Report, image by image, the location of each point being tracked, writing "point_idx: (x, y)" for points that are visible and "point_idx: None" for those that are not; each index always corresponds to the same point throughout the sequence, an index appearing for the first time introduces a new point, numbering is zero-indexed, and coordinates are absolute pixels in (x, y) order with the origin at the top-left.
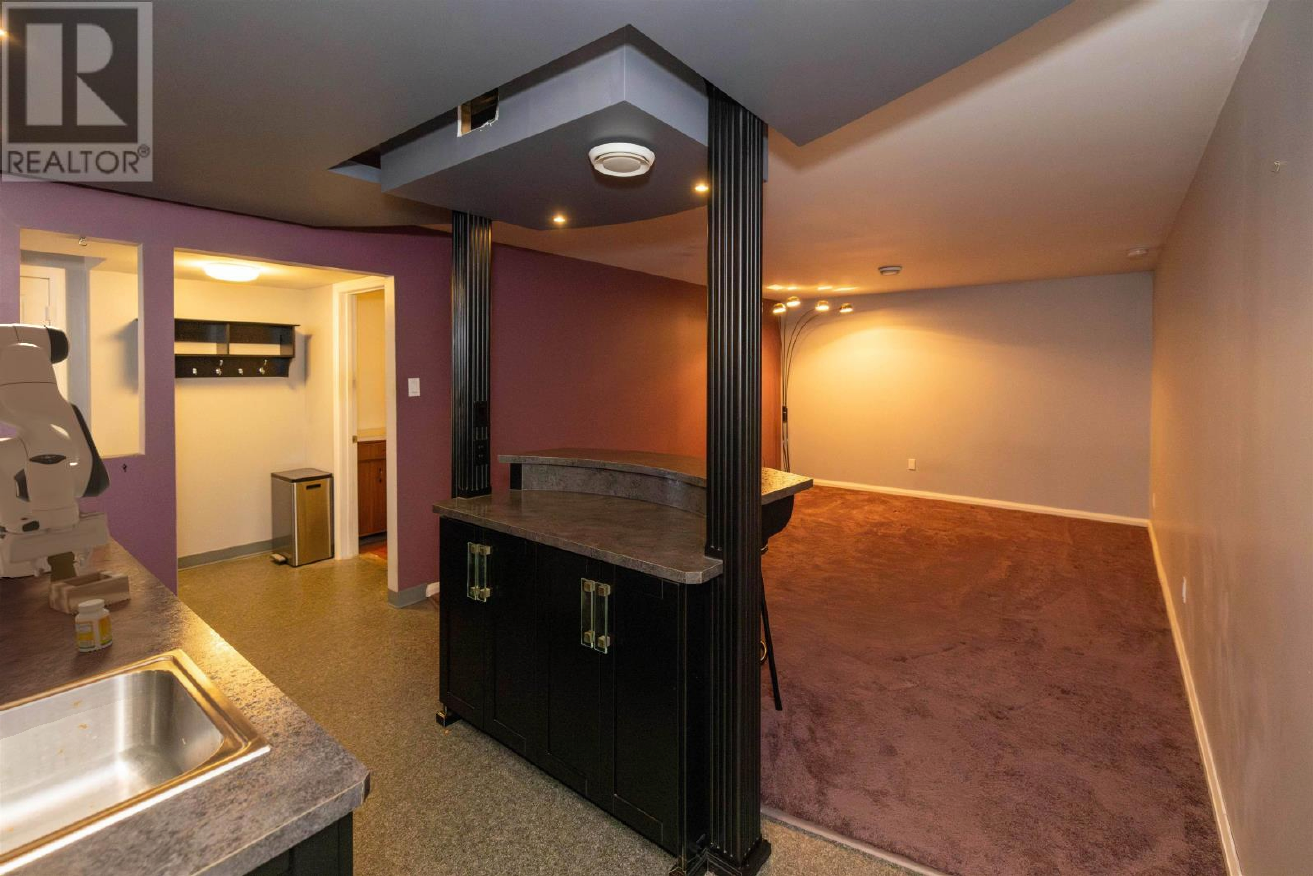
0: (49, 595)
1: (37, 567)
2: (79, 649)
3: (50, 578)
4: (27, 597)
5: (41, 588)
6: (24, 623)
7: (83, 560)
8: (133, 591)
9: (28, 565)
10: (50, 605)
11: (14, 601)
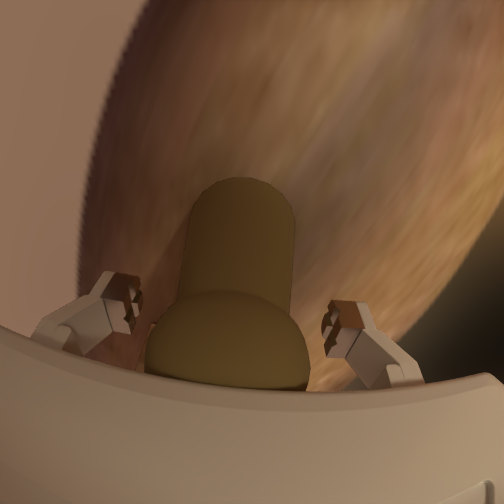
0: (141, 355)
1: (98, 342)
2: None
3: (184, 254)
4: (146, 128)
5: (244, 32)
6: (97, 355)
7: (332, 352)
8: (311, 379)
9: (56, 316)
10: (149, 328)
11: (104, 140)
